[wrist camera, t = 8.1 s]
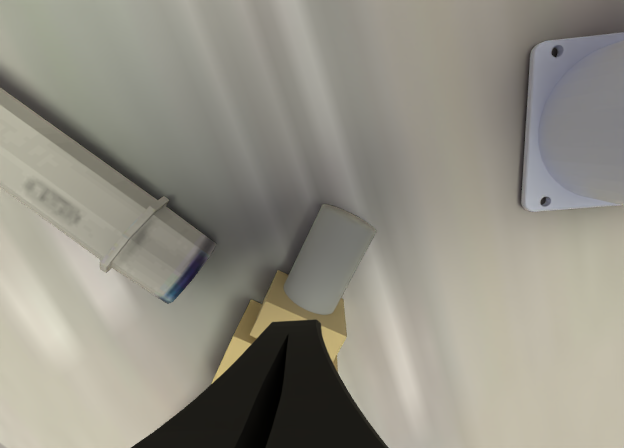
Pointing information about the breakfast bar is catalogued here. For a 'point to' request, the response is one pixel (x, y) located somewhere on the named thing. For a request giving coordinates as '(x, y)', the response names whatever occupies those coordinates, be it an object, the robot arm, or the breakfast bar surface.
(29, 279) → the breakfast bar surface
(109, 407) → the breakfast bar surface
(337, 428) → the robot arm
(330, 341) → the valve pipe
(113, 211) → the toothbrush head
